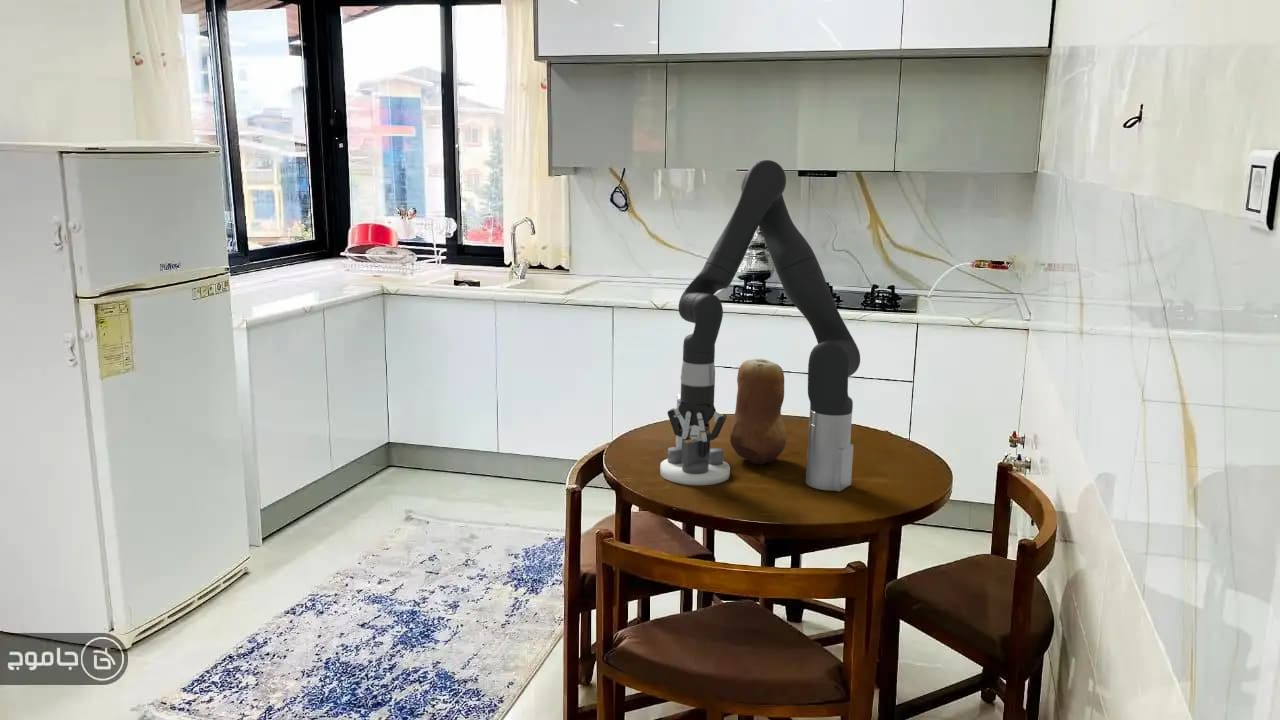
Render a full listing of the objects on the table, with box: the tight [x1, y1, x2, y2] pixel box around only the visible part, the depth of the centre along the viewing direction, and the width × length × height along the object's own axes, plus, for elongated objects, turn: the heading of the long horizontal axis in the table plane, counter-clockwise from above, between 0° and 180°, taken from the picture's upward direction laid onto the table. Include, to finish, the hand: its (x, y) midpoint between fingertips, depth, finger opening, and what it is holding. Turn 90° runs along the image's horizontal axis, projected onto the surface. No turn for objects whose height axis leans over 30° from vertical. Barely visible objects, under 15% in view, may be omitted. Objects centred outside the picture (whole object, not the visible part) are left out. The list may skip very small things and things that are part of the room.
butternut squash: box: [729, 358, 787, 466], centre depth 227 cm, size 14×13×25 cm
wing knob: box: [681, 436, 711, 474], centre depth 214 cm, size 7×6×7 cm
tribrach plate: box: [659, 446, 731, 486], centre depth 219 cm, size 16×16×5 cm
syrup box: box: [675, 393, 700, 448], centre depth 234 cm, size 6×6×14 cm
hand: (695, 455), depth 214 cm, fingers closed on wing knob, 3 cm apart
